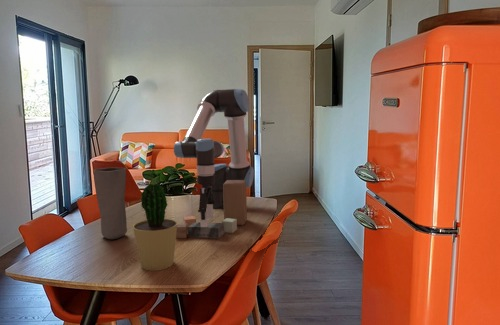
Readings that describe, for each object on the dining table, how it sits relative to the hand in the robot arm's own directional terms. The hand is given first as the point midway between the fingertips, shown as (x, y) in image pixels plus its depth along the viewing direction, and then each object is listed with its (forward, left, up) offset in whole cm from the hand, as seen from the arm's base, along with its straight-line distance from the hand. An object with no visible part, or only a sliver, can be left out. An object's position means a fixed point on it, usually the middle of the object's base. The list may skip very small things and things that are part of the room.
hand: (207, 222), depth 182 cm
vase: (+7, -40, -5) cm, 41 cm away
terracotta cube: (-8, -10, -5) cm, 14 cm away
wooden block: (-18, +10, -5) cm, 22 cm away
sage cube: (-5, +9, -5) cm, 12 cm away
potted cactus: (+36, -11, -5) cm, 38 cm away
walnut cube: (+4, -11, -5) cm, 13 cm away
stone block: (+1, 0, -6) cm, 6 cm away
